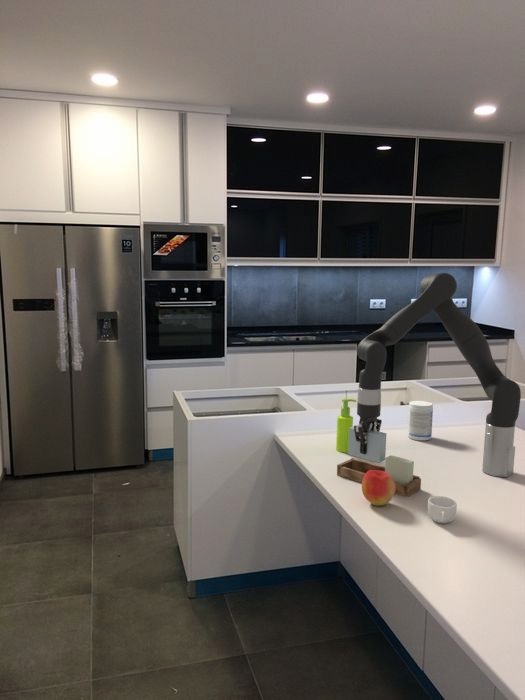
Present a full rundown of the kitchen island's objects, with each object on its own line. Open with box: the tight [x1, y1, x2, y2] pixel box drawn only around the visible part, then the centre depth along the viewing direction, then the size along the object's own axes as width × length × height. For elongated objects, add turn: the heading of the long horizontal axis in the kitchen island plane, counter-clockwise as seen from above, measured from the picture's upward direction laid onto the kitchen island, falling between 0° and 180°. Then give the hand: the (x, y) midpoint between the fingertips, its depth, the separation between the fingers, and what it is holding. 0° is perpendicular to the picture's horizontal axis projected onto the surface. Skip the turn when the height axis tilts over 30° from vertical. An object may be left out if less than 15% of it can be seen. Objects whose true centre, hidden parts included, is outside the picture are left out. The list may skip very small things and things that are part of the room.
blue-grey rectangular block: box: [347, 425, 387, 463], centre depth 187 cm, size 12×4×9 cm, turn 48°
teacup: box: [427, 495, 457, 524], centre depth 157 cm, size 10×8×5 cm
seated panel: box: [384, 454, 415, 485], centre depth 180 cm, size 8×4×9 cm, turn 48°
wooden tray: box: [336, 457, 422, 498], centre depth 185 cm, size 26×8×4 cm, turn 48°
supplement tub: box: [407, 400, 434, 442], centre depth 234 cm, size 10×10×15 cm
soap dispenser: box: [335, 398, 357, 453], centre depth 216 cm, size 6×7×20 cm
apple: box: [361, 470, 396, 507], centre depth 168 cm, size 10×10×10 cm
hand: (366, 451), depth 187 cm, fingers closed on blue-grey rectangular block, 3 cm apart
